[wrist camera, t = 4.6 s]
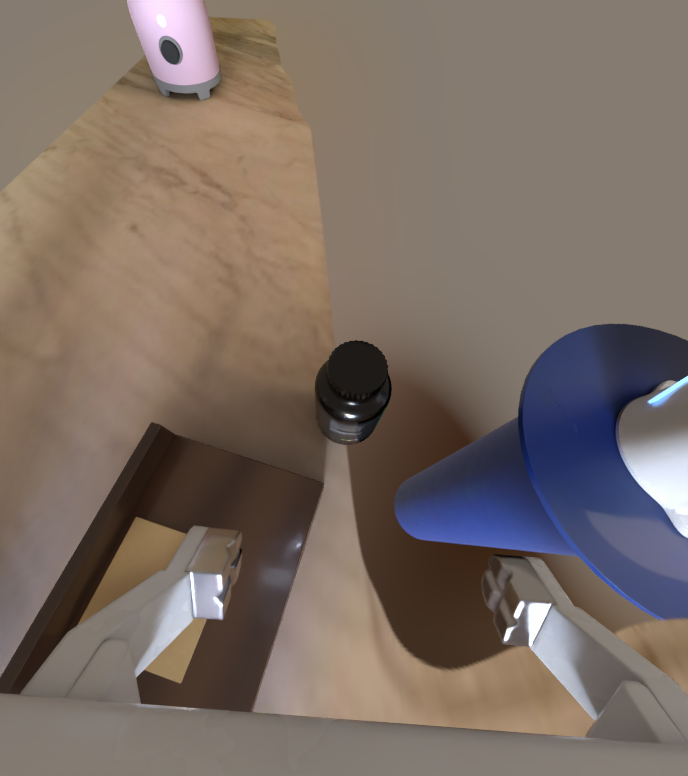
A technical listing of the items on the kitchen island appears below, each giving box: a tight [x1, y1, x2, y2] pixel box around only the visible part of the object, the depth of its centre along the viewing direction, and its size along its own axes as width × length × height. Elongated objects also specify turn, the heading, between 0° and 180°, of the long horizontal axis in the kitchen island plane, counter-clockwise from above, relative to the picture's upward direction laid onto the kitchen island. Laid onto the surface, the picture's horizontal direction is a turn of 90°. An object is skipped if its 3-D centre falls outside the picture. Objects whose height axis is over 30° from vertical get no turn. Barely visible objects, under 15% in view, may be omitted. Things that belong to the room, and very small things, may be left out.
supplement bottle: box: [315, 340, 392, 445], centre depth 30 cm, size 7×7×12 cm
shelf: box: [0, 422, 324, 712], centre depth 26 cm, size 16×20×6 cm
